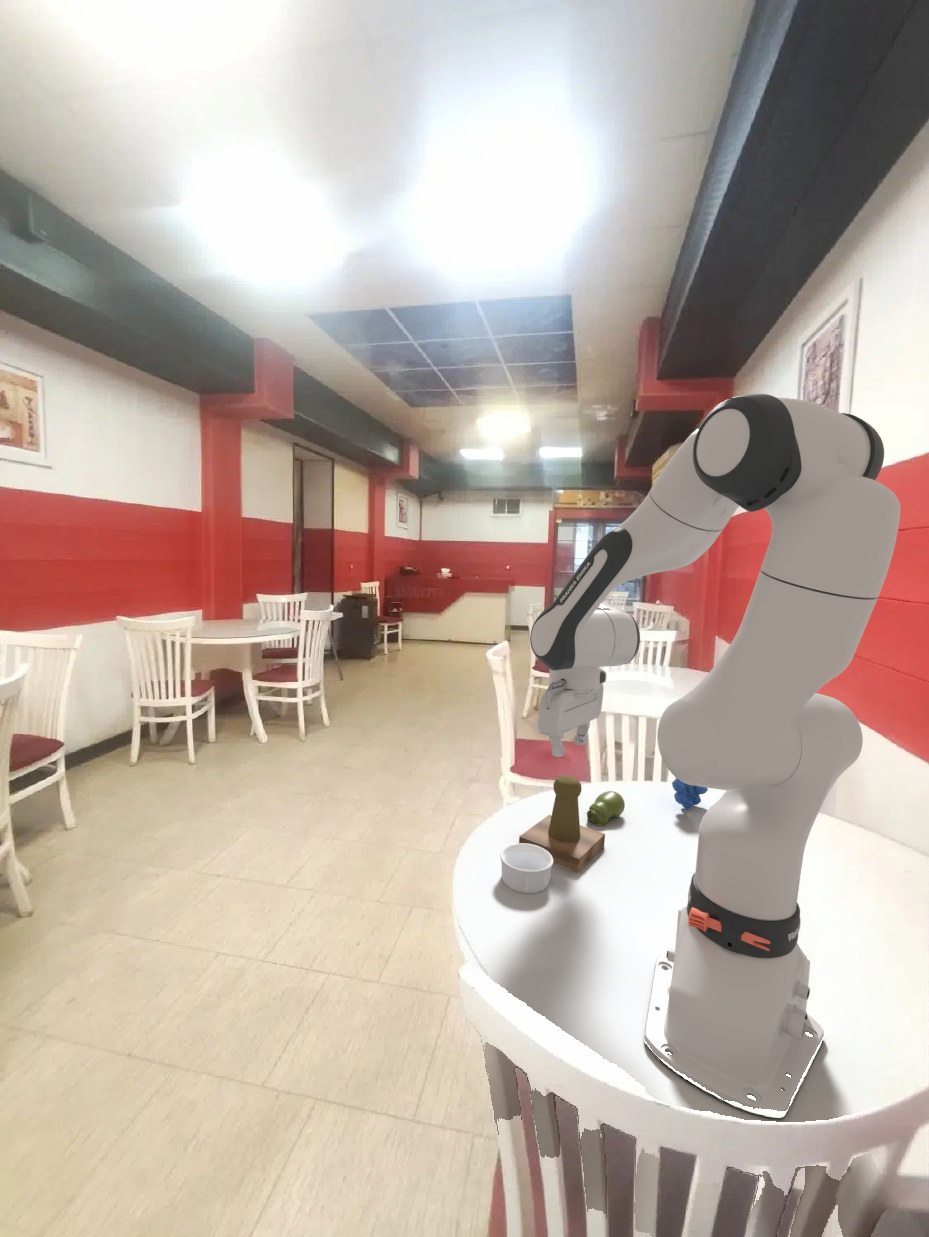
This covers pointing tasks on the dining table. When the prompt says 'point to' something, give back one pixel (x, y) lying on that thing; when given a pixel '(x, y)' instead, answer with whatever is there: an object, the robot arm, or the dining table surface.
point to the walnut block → (565, 845)
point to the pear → (606, 808)
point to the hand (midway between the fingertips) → (569, 749)
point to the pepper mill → (565, 810)
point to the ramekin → (526, 867)
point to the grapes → (687, 793)
